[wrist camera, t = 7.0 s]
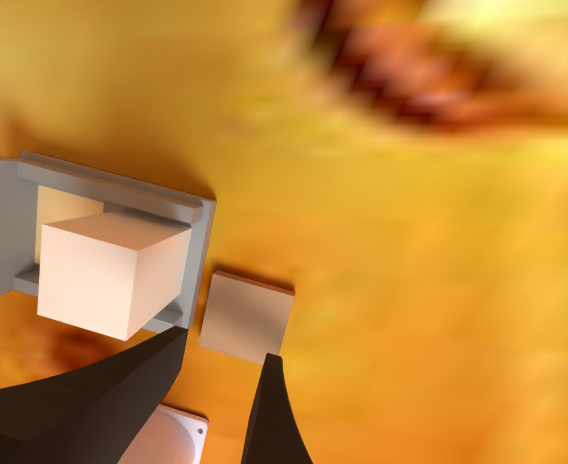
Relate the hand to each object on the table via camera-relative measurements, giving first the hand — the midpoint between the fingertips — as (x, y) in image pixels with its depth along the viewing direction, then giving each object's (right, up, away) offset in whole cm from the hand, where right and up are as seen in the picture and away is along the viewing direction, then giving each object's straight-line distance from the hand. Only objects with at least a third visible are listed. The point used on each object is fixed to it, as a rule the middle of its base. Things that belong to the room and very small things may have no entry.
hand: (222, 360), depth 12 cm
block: (-7, +4, +8) cm, 11 cm away
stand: (0, -1, +9) cm, 9 cm away
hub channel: (-10, +5, +9) cm, 15 cm away
